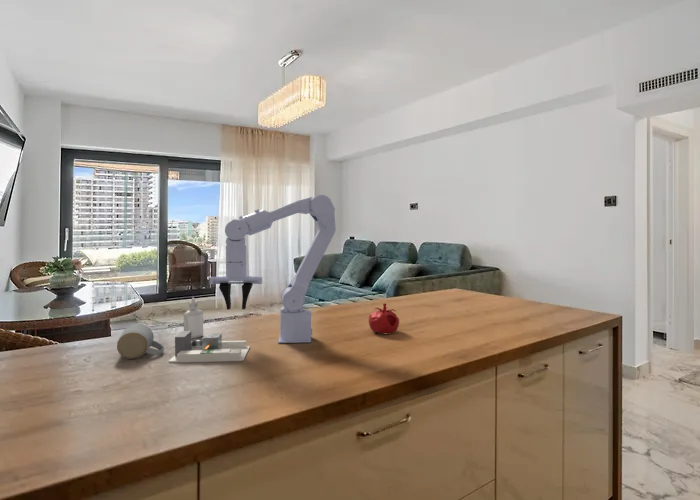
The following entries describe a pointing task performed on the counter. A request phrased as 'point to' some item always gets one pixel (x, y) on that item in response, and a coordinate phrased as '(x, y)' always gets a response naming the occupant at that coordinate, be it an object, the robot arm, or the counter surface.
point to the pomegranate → (383, 321)
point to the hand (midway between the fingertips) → (236, 308)
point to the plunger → (209, 341)
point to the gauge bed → (196, 354)
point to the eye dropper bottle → (194, 320)
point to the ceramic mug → (138, 342)
